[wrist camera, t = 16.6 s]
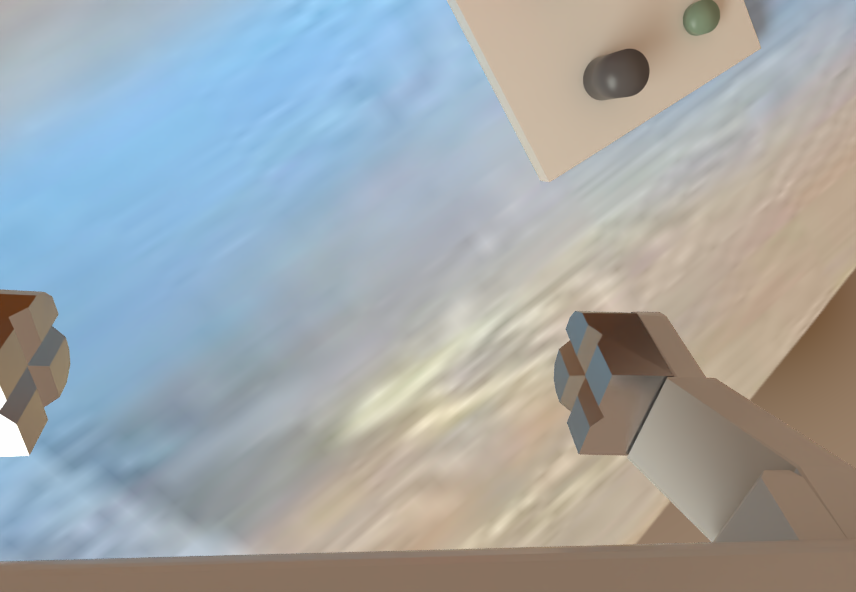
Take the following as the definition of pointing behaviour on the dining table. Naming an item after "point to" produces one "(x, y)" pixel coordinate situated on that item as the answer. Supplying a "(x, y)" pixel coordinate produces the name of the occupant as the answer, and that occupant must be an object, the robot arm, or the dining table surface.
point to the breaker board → (568, 43)
